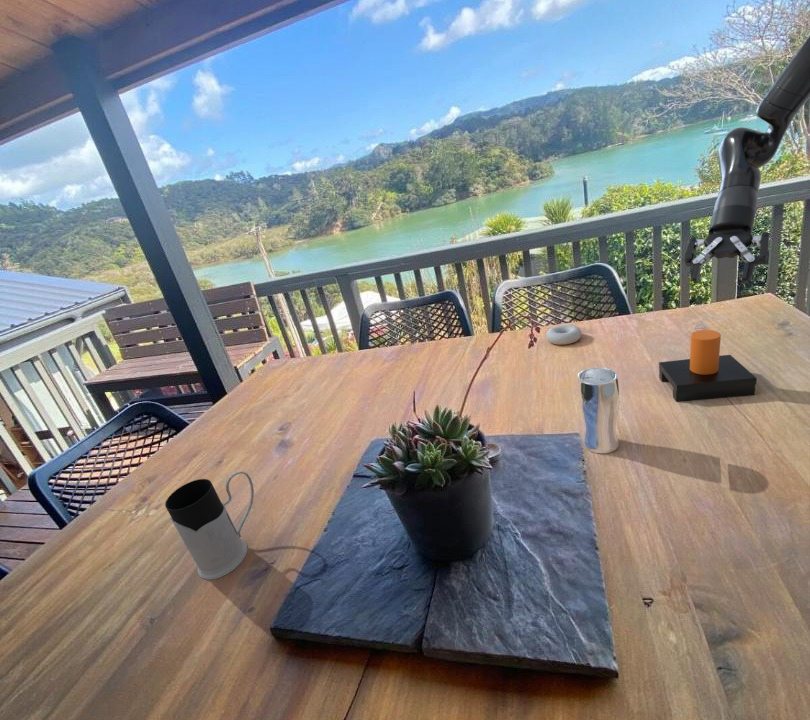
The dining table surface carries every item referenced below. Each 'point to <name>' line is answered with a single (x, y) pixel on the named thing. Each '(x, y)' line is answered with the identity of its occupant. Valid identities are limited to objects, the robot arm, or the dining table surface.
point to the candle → (705, 352)
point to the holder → (208, 527)
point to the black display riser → (708, 380)
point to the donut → (563, 334)
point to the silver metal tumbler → (599, 408)
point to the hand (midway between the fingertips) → (719, 281)
